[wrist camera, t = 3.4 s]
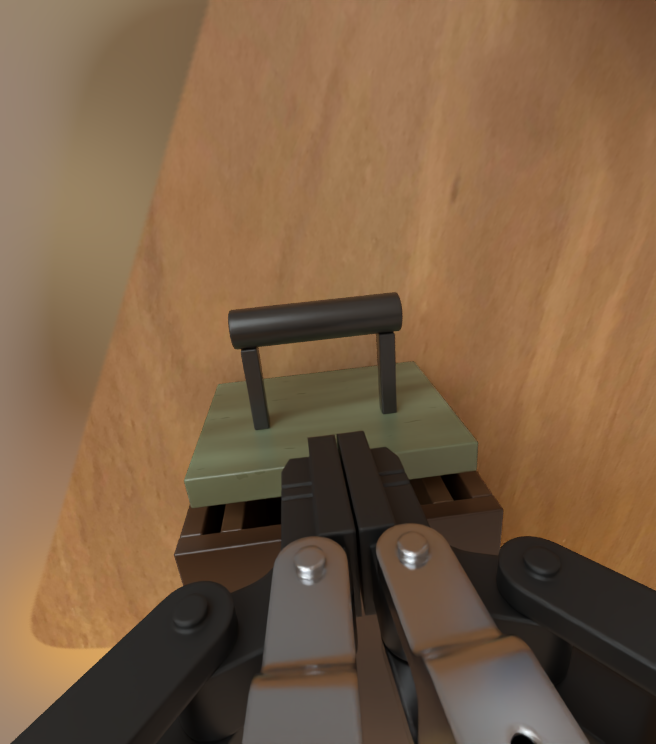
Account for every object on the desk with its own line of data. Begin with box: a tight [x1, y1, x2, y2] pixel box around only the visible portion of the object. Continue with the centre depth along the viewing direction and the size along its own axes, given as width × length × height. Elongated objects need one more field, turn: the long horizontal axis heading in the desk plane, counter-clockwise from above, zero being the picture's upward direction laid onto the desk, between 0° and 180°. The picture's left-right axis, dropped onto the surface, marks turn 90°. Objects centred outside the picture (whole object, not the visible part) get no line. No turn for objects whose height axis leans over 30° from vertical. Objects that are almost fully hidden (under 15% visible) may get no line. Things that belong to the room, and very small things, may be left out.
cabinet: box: [174, 471, 503, 744], centre depth 21 cm, size 14×11×10 cm
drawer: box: [184, 292, 478, 532], centre depth 19 cm, size 17×10×8 cm, turn 5°
